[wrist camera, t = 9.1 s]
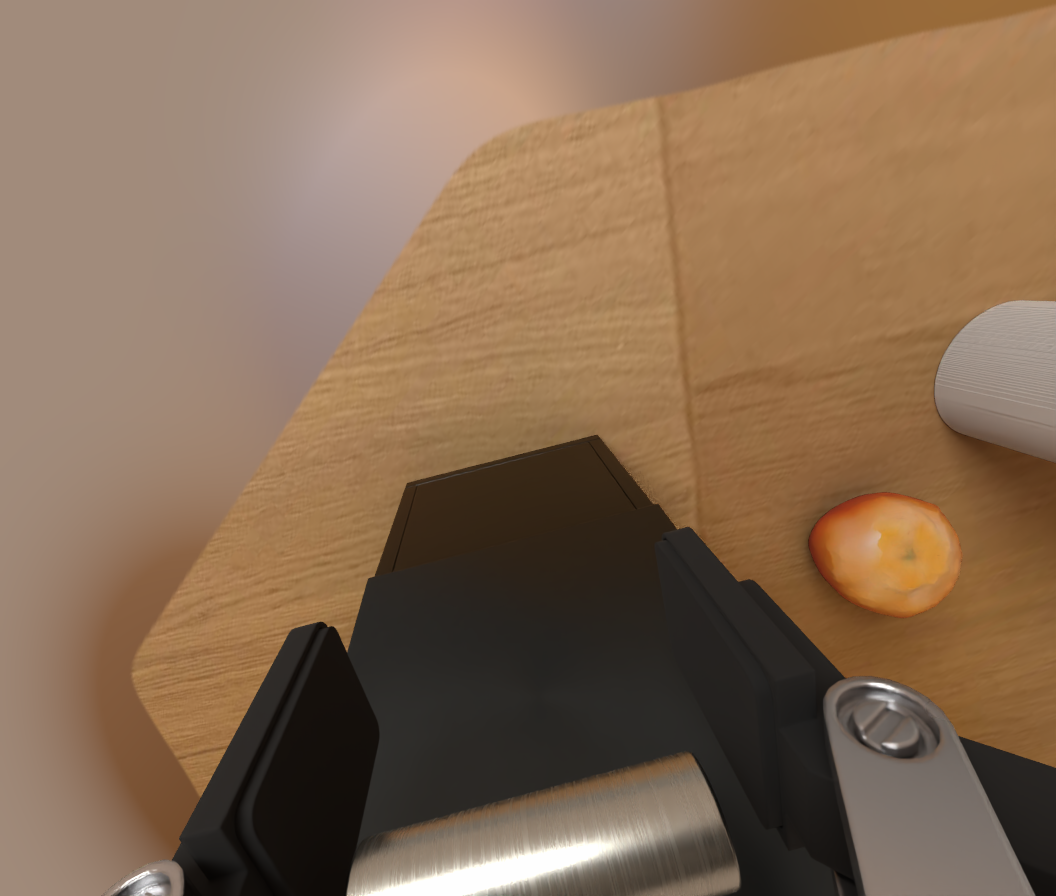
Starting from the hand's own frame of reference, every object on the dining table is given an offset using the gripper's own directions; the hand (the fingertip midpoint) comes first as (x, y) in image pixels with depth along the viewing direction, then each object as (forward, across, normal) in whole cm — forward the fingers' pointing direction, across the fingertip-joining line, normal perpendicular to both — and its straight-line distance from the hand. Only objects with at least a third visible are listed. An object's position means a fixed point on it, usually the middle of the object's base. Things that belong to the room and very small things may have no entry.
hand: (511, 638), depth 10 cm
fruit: (+22, -23, +16) cm, 35 cm away
